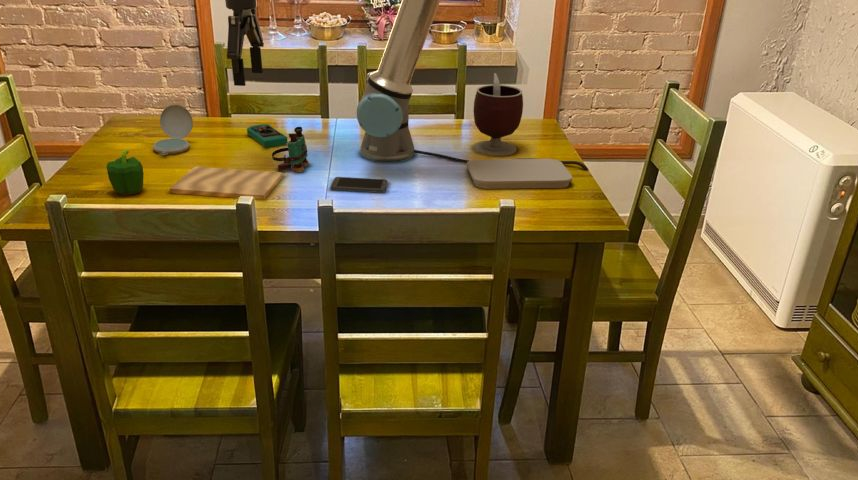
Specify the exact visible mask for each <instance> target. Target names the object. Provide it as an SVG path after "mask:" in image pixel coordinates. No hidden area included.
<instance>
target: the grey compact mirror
mask: <svg viewBox="0 0 858 480" xmlns="http://www.w3.org/2000/svg"><path fill="white" fill-rule="evenodd" d="M159 124H160V128H161V130H162V132H163V133H164V134H165V135H166V136H168V137H169V138H165V139H160V140H157V141H156V142H154V143H153V146H152V149H153V151H154V152H156V153H158V154H159V156H166V155H176V154H181V153H184V152H186V151H187V150H189V149H190V146H191V145H190V143H189V142H188V140H186V139H184V138H186V137H187V136H189V135H190V133H191V132H192V130H193V128H194V127H193V126H194V120H193V117H192V114H191V112H190V111H189V110H188V109H187V108H186V107H184V106H183V105H181V104H170V105H168V106H166V107H165V108H164V109H163V110H162V111H161V114H160V116H159Z"/></svg>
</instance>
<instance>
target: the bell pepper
mask: <svg viewBox="0 0 858 480" xmlns="http://www.w3.org/2000/svg"><path fill="white" fill-rule="evenodd" d="M129 153H130V151H129V150H128V149H124V150H123V151H122V154H121V156H120V157H118V158H117V159H115V160H112V161H108V162H107V164H106V173H107V176H108V180H109V182H110V185H111V187H112V188H113V190H114V192H115V193H117V194H118V195H128V194H129V195H136V194H138V193H140V192H141V191H142V190H143V188H144V175H145V174H144V173H145V172H144V168H143V164H142V163H141V161H139V160H138V159H137V158H136V157H135V156H132V157H128V158H127V155H129Z"/></svg>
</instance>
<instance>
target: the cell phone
mask: <svg viewBox="0 0 858 480" xmlns="http://www.w3.org/2000/svg"><path fill="white" fill-rule="evenodd" d="M388 183H389V181H388V179H386V178H371V177H369V178H368V177H367V178H366V177H350V176H349V177H348V176H347V177H345V176H336V177H334V178H333V180H332V182H331V184H330V189H331V190H332V191H346V192H347V191H349V192H365V193H366V192H367V193H368V192H369V193H385V192H386V190H387V187H388Z"/></svg>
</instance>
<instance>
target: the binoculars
mask: <svg viewBox="0 0 858 480" xmlns="http://www.w3.org/2000/svg"><path fill="white" fill-rule="evenodd" d="M293 131H294V133H288V138H290V140H289V141H288V143H287V147H282V148H278V149H276V150H274V151H273V152H272V153H271V159H272V160H273V161H275V162H281V163H280V164H277V170H278V171H283V170H289V169H290V170H291V169H292V171H294V172H295V173H303V172H304V170H305V169H304V167H309V165H310V162H309V160H308V159H307V158H308V146H307V144H306V138H305V135H304V134H303V127H302V126H296V127H295V128H294V129H293ZM284 152H287V153H288V155H286V154H284V156H283V157H277V156H276V155H277V154H280V153H284ZM282 162H283V163H282Z"/></svg>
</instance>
